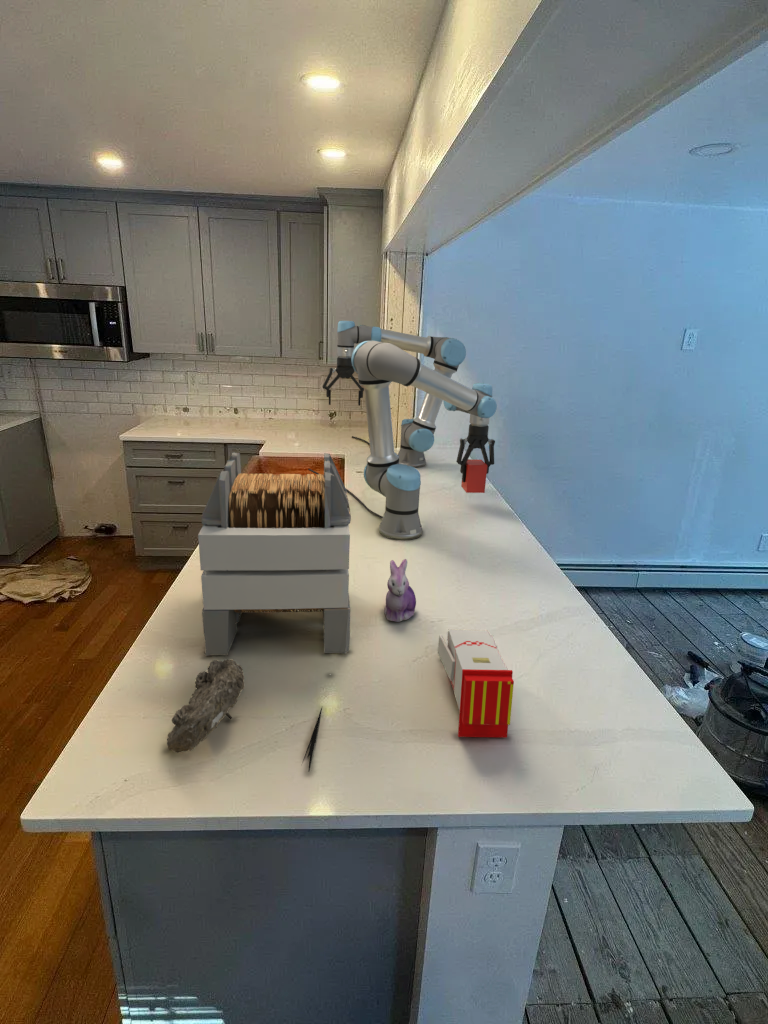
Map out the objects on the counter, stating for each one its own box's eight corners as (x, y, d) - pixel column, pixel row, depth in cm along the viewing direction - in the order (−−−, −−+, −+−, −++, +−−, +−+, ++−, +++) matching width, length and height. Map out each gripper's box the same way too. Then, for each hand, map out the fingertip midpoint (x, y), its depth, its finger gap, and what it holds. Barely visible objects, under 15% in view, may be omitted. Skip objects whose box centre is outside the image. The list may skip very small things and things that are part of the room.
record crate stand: (226, 586, 157) (217, 442, 143) (344, 585, 161) (346, 445, 147) (202, 658, 125) (189, 482, 112) (350, 654, 129) (354, 483, 115)
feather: (331, 679, 122) (336, 673, 122) (307, 777, 96) (313, 769, 95) (324, 675, 122) (329, 669, 121) (298, 772, 95) (304, 764, 95)
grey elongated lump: (192, 660, 117) (244, 628, 112) (224, 691, 120) (276, 661, 115) (142, 746, 98) (202, 712, 93) (182, 779, 101) (242, 748, 96)
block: (466, 492, 223) (468, 465, 219) (461, 486, 231) (463, 459, 227) (484, 492, 224) (487, 465, 220) (478, 486, 232) (481, 459, 228)
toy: (488, 613, 130) (523, 677, 101) (484, 667, 133) (517, 744, 104) (435, 612, 130) (455, 676, 101) (432, 666, 133) (451, 743, 103)
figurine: (392, 627, 141) (395, 572, 136) (374, 608, 149) (376, 556, 144) (425, 619, 145) (429, 566, 140) (405, 601, 154) (408, 550, 149)
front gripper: (455, 425, 214) (450, 483, 222) (507, 426, 216) (500, 484, 224) (451, 422, 221) (446, 478, 229) (501, 423, 223) (495, 478, 231)
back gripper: (317, 356, 248) (317, 405, 256) (374, 358, 252) (372, 406, 259) (317, 355, 255) (317, 402, 263) (372, 357, 259) (370, 404, 266)
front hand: (473, 481), depth 227 cm, fingers closed on block, 7 cm apart
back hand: (344, 404), depth 261 cm, fingers open, 13 cm apart
